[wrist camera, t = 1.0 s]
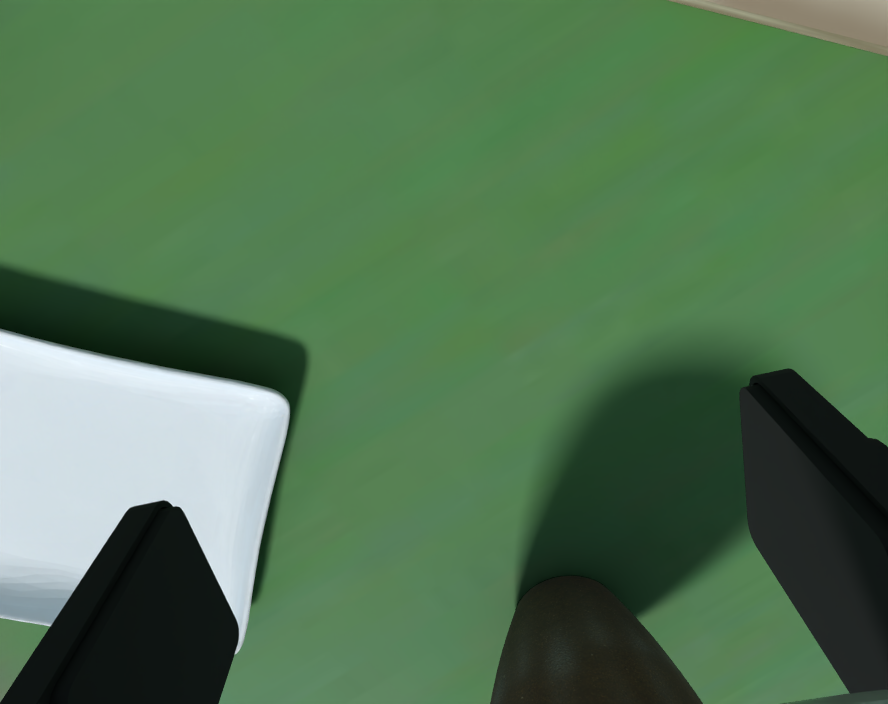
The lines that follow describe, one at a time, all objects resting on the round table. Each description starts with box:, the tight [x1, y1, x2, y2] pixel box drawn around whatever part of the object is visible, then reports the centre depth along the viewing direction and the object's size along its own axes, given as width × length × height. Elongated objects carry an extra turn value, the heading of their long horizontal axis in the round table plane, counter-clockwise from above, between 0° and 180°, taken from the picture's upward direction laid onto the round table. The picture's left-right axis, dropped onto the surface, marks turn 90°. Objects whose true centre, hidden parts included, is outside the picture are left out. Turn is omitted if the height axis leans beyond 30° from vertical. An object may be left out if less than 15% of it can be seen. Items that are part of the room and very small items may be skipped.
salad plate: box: [0, 329, 290, 654], centre depth 42 cm, size 21×21×3 cm
